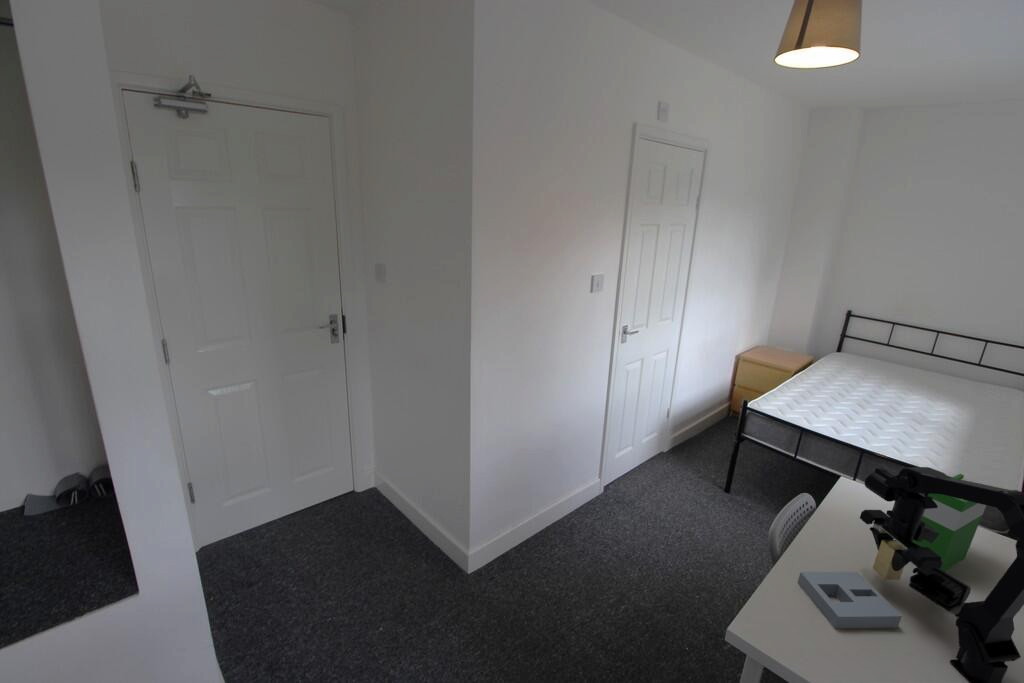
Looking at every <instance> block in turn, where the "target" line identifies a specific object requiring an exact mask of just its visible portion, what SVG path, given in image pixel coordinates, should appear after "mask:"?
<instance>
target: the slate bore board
mask: <svg viewBox="0 0 1024 683" xmlns="http://www.w3.org/2000/svg"><path fill="white" fill-rule="evenodd" d="M797 584H798V585H799V587H800V588H801V589H802V590H803V591H804V593H805V594H806V596H808V597H809V599H810V600H811V601H812V602H813V603H814V605H815V606H816V607H817V608H818V610H819V611H820V612H821V613H822V615H823V616H824V617H825V618H826V619H827V621H828V622H829V623H830V624H831V626H832V627H833V629H871V628H872V629H881V628H882V629H886V628H887V629H891V628H892V629H894V628H895V629H896V628H899V625H900V622H901V621H902V620H901V619H902V615H901V614H900V613H899V612H898V610H896V609H895V608H894V607H893V606H892V604H890V603H889V601H887V600H886V599H885V598H884V596H882V594H880V592H878V591H877V590H876V589H875V588H874V587H873V586H872V585H871V584H870V583H869V582H868V581H867V580H866V579H865V578H864V577H863V576H862V575H861V574H860V572H859V571H800V572H799V575H798V580H797ZM829 596H835V598H836V599H838V601H832V599H831V598H830V597H829Z"/></svg>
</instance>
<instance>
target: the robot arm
mask: <svg viewBox="0 0 1024 683" xmlns="http://www.w3.org/2000/svg"><path fill="white" fill-rule="evenodd" d="M952 477H953V476H949V475H947V474H946V473H944V472H942V471H939V470H937V469H934V468H931V467H928V466H921V467H920V466H919V467H917V466H916V467H903V468H901V470H900V471H899V473H898V474H897V475H893V474H892V473H891V472H889V471H888V470H887V469H885V468H884V467H875V470H874V471H873V472H871V473H870V474H869V475H868V476H867V477H866V478H864V487H865V488H867V490H869V491H871V492H873V493H874V494H875V495H876V496H878V497H879V498H881V499H882V500H884V501H886V502H889V503H890V502H893V503H894V504H893V506H892V508H891V509H892V510H890V509H889V510H887V511H886V512H884V511H883V510H882V509H864V510H863V511H861V513H860V517H859V519H860V520H861V521H862V522H864V523H865V524H866V525H872V524H873V526H872V527H871V526H870V527H869V531H871V534H872V537H873V539H874V542H875V545H876V549H877V551H878V550H879V547H880V544H881V541H882V540H897V541H898V542H899V543H900V544H901V545H903V546H904V548H903V550H895V553H894V564H893V567H894V571H899V570H900V569H902V568H903V567H904V568H905V567H906V566H907V565H908V564H909V563H912V565H914V566H915V568H916V567H919V568H941V566H942V563H943V559H942V558H941V557H940V556H939V555H937V554H936V553H935V552H934V551H932V550H931V549H930V548H929V547H921V546H920V545H917V544H915V543H914V542H913V541H914V540H916V541H917V542H922V539H924V540H926V541H929V542H930V543H933V542H934V541H935V540H936V538H937V537H938V536H939V535H940V533H939V532H938V531H936V530H935V529H934V528H932V527H931V526H929V525H928V524H927V523H925V522H923V521H922V520H921V519H922V517H923V514H924V511H925V509H933V508H938V506H937V504H936V503H935V502H934V501H933V499H932V497H931V496H929V497H928V496H925V495H923V494H928V495H929V494H943V495H947V496H951V497H955V498H959V499H963V500H967V501H971V502H975V503H979V504H983V505H986V507H987V506H988V507H992V508H995V509H997V510H998V511H999V512H1001V514H1002V516H1003V519H1004V521H1005V523H1006V526H1007V527H1008V529H1009V530H1010V531H1011V532H1012V533H1013V534H1014V535H1015V537H1017V540H1016V542H1015V551H1016V557H1015V558H1014V560H1013V562H1012V563H1011V564H1010V566H1009V567H1008V568H1007V569H1006V571H1005V572H1004V573H1003V575H1002V576H1001V578H1000V579H999V580H998V582H997V583H996V584H995V586H994V587H993V588H992V590H991V591H990V592H989V594H988V595H987V596H986V598H985V599H983V600H982V601H981V600H980V601H971V602H964V603H963V604H962V605H961V609H960V611H959V612H958V613H955V614H954V616H955V617H957V618H956V620H955V626H956V627H957V634H958V647H959V648H958V651H957V653H956V656H955V659H950V660H949V663H950V664H951V665H952V666H953V667H954V668H955V669H956V670H957V671H958V672H959V673H960V674H961V675H962V676H963V677H964V678H965V679H966V680H968V682H969V683H1002V681H1003V679H1004V677H1005V675H1006V672H1007V670H1008V668H1009V666H1008V665H1007V664H1006V662H1007V663H1008V662H1015V661H1017V660H1019V659H1021V654H1020V653H1019V650H1018V648H1017V646H1016V643H1015V642H1014V641H1013V639H1012V636H1013V634H1014V631H1015V623H1014V617H1015V616H1017V614H1018V613H1019V612H1020V611H1021V609H1022V608H1023V606H1024V492H1022V491H1020V490H1018V489H1007V488H1002V487H998V486H992V485H990V484H989V485H987V484H983V483H979V482H975V481H974V482H973V481H971V480H969V481H965V480H960V479H955V478H952ZM970 481H971V482H970ZM904 568H903V569H904Z"/></svg>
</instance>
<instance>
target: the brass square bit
mask: <svg viewBox="0 0 1024 683" xmlns="http://www.w3.org/2000/svg"><path fill="white" fill-rule="evenodd" d="M903 548H904V546H903V545H901V544H900V543H899V542H898V541H897V540H895V539H893V540H882V541H881V544H880V547H879V550H878V549H877V554H876V556H875V560H874V562H873V566H872V569H873V570H874V571H875V572H876V573H877V574H878V575H879V576H880V577H881V578H882V579H883V580H884V581H899V580H900V579H901V576H902V574H903V571H904V568H905V566H904V567H903V568H902V569H900V570H899V571H894V567H893V564H894V553H895V550H903Z"/></svg>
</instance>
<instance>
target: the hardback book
mask: <svg viewBox="0 0 1024 683" xmlns="http://www.w3.org/2000/svg"><path fill="white" fill-rule="evenodd" d="M951 477H952V478H955V479H960V480H965V481H970V482H972V480H969V479H966V478H964V477H965V474H962V473H959V474H957V475H954V476H951ZM929 496H931V497H932V499H933V501H934V502H935V503H936V504H937V506H938V508H933V509H925V511H924V514H923V517H922V519H921V520H922V521H923V522H925V523H927V524H928V525H929V526H931V527H932V528H934V529H935V530H936V531H938V532H939V533H940V535H939V536H938V537H937V538H936V540H935V541H934V542H933V543H930V542H929V541H926V540H924V539H922V542H917V541H916V540H914V541H913V542H914V543H915V544H917V545H920V546H921V547H929V548H930V549H931V550H932V551H934V552H935V553H936V554H937V555H939V556H940V557H941V558H942V559H943V563H942V566H941V568H939V569H941V570H943V571H944V572H946V571H947V570H949V569H950V568H952V567H954V566H955V565H956V564H958V563H959V562H961V561H962V560H964V559H966V557H967V554H968V552H969V550H970V547H971V544H972V542H973V540H974V537H975V534H976V532H977V529H978V527H979V525H980V522H981V519H982V517H983V514H984V513H985V510H986V507H987V505H983V504H979V503H975V502H971V501H967V500H963V499H959V498H955V497H951V496H947V495H943V494H928V495H927V497H929Z"/></svg>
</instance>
